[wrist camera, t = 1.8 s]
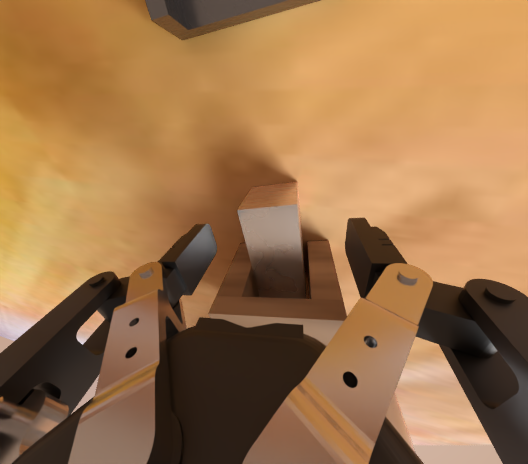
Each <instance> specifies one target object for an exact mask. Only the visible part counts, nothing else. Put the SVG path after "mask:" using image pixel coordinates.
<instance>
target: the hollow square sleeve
mask: <svg viewBox="0 0 528 464" xmlns="http://www.w3.org/2000/svg"><path fill="white" fill-rule="evenodd" d="M307 242H308V273H309V299H294V298H262V297H260V294H259V291H258V287H257V283H256V279H255V276H254V272H253V268H252V264H251V261H250V257H249V253H248V250H247V246H246V243H240V246H239V248H238V250H237V252H236V254H235V257H234V259H233V261H232V263H231V265H230V267H229V270H228V272H227V274H226V276H225V278H224V281H223V283H222V285H221V287H220V289H219V291H218V294H217V296H216V298H215V300H214V302H213V304H212V307H211V309H210V311H209V313H208V314H209V316H210V318H214V319H224V320H227V321H229V322H232V323H235V324H237V325H240V326H243V327H247V328H249V327H255V326H261V325H266V324H272V323H285V324H299V325H303V331H304V334H306V335H309V336H311V337H313V338H315V339H317V340H319V341H320V342H322V343H323V344H324V345H326V346H327V345H328V344H329V342H330V341H331V339H332V338H333V336H334V335H335V334H336V332H337V331H338V329H339V328H340V326H341V325H342V323H343V322H344V321H345V319H346V318H347V315H346V311H345V307H344V302H343V298H342V294H341V290H340V286H339V282H338V278H337V273H336V269H335V265H334V261H333V257H332V253H331V249H330V244H329V241H307Z"/></svg>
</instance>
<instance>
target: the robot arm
mask: <svg viewBox="0 0 528 464" xmlns="http://www.w3.org/2000/svg"><path fill="white" fill-rule="evenodd" d="M345 250H346V255H347V258H348V261H349V264H350V267H351V270H352V273H353V276H354V279H355V282H356V285H357V288H358V291H359V294H360V297H361V298H360V299H359V300H358V302H357V303H356V305H355V306H354V308H353V309H352V310H351V312H350V313H349V315H348V316H347V318H346V319H345V321H344V322H343V323H342V325H341V326H340V328H339V329H338V331H337V332H336V334H335V335H334V336H333V338H332V339H331V341H330V342H329V344H328V345H327V346H326V345H324V344H323V343H322V342H320V341H319V340H317V339H315V338H313V337H311V336H309V335H306V334H304V331H303V325H299V324H285V323H272V324H266V325H261V326H255V327H249V328H247V327H243V326H240V325H237V324H235V323H232V322H229V321H227V320H224V319H214V318H199V320H198V322H197V324H196V326H194V327H191V328H188V329H187V328H186V323H185V317H184V311H183V306H182V301H181V299H180V297H181V296H182V295H192V294H193V292H194V290H195V289H196V287H197V285H198V283H199V282H200V280H201V278H202V277H203V275H204V273H205V272H206V270H207V268H208V266H209V265H210V263H211V261H212V260H213V258H214V256H215V254H216V252H217V245H216V241H215V238H214V235H213V232H212V229H211V226H210V225H209V224H196V225H195V226H194V227H193V228H192V229H191V230H190V231H189V232H188V233H187V234H185V235H183V236H182V237H181V238H180V239H179V240H178V241H177V242H176V243H175V244H174V245H173V246H172V248H170V249H169V250H168V251H167V253H166V254H165V255H164V256H163V257H162V258H161V259H160V260H159V261H158V262H151V263H147V264H145V265H143V266H141V267H139V268H138V269H136V270H135V271H134V272H133V273H132V274H131V276H130V277H125V278H121V279H118V277H117V276H116V275H115V273H114V272H110V271H109V272H104V273H101V274H98V275H96V276H94V277H92V278H90V279H89V280H87V281H86V282H85V283H84V284H82V285H81V286H80V287H79V288H78V289H76V290H75V291H74V292H73V293H72V294H71V295H69V296H68V297H67V298H66V299H65V300H63V301H62V302H61V303H60V304H59V305H57V306H56V307H55V308H54V309H53V310H51V311H50V312H49V313H48V314H47V315H45V316H44V317H43V318H42V319H41V320H40V321H38V322H37V323H36V324H35V325H34V326H32V327H31V328H30V329H29V330H28V331H26V332H25V333H24V334H23V335H22V336H20V337H19V338H18V339H17V340H16V341H14V342H13V343H12V344H11V345H10V346H8V347H7V348H6V349H5V350H4V351H3V352H1V353H0V464H423V462H422V461H421V460H420V458H419V457H418V456H417V455H416V453H415V450H414V447H413V444H412V441H411V438H410V435H409V432H408V430H407V427H406V424H405V421H404V418H403V415H402V412H401V409H400V406H399V404H398V401H397V398H396V395H395V389H396V387H397V384H398V381H399V379H400V376H401V373H402V371H403V368H404V365H405V363H406V360H407V357H408V355H409V352H410V349H411V346H412V344H413V341H414V338H415V336H416V337H419V338H422V339H425V340H428V341H431V342H434V343H437V344H439V346H440V347H441V349H442V351H443V353H444V355H445V357H446V359H447V360H448V362H449V364H450V366H451V368H452V370H453V372H454V373H455V375H456V377H457V379H458V381H459V383H460V385H461V387H462V388H463V390H464V392H465V394H466V396H467V398H468V400H469V401H470V403H471V405H472V407H473V409H474V411H475V413H476V414H477V416H478V418H479V420H480V422H481V424H482V426H483V427H484V429H485V431H486V433H487V435H488V437H489V439H490V441H491V442H492V444H493V446H494V448H495V450H496V452H497V454H498V455H499V457H500V459H501V461H502V463H503V464H528V297H527V296H526V295H524V294H523V293H521V292H520V291H518V290H516V289H514V288H512V287H510V286H507V285H505V284H502V283H499V282H496V281H492V280H487V279H472V280H470V281H468V282H467V283H466V285H465V286H464V288H461V287H456V286H451V285H447V284H442V283H438V282H434V281H432V278H431V277H430V276H429V275H428V274H427V273H426V272H425V271H423V270H421V269H420V268H418V267H415V266H412V265H409V264H407V262H406V261H405V260H404V258H403V257H402V255H401V254H400V253H399V251H398V250H397V248H396V247H395V246H394V245H393V243H392V241H391V240H389V237H388V236H387V234H386V233H385V232H384V231H382V230H381V229H379V228H378V227H370V225H369V223H368V222H367V220H366V219H365V218H349V219H348V223H347V232H346V241H345ZM96 310H97V311H98V312H99V313H100V314H101V315H102V316H103V317H104V318H105V320H104V321H103V323H102V324H101V325H100V326H99V327H98V328H97V329H96V331H95V332H94V333H93V334H92V335H91V336H90V337H89V339H88V340H87V341H86V342H85V343H84V344H83V345H82V344H81V343H80V342H78V341H77V338H76V334H77V331H78V330H79V328H80V327H81V326H82V325H83V324H84V323H85V322H86V321H87V320H88V319H89V318H90V317H91V316H92V314H93V313H94V312H95V311H96ZM98 375H99V379H98V384H97V389H96V393H95V396H94V397H93V398H92V399H90V400H89V401H88V402H87V403H85V404H84V405H83V406H81V407H80V408H79V409H77V410H76V411H75V412H74V413H72V412H73V410H74V409H75V407H76V406H77V405H78V403H79V402H80V400H81V399H82V397H83V396H84V395H85V394H86V392H87V391H88V389H89V388H90V387H91V385H92V384H93V382H94V381H95V379H96V378H97V377H98ZM71 413H72V414H71ZM70 414H71V415H70Z"/></svg>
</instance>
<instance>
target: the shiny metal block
mask: <svg viewBox="0 0 528 464" xmlns="http://www.w3.org/2000/svg"><path fill="white" fill-rule="evenodd" d="M237 212H238V216H239V220H240V223H241V227H242V231H243V235H244V238H245V242H246V246H247V250H248V253H249V257H250V261H251V264H252V268H253V272H254V276H255V279H256V283H257V287H258V291H259V294H260V297H262V298H294V299H306V277H305V265H304V253H303V241H302V229H301V217H300V205H299V193H298V182H290V183H282V184H274V185H266V186H258V187H252V188H251V189H250V191H249V193H248V194H247V196H246V197H245V199H244V200H243V202H242V203H241V205H240V206H239V208H238V209H237Z"/></svg>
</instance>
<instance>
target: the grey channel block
mask: <svg viewBox="0 0 528 464" xmlns="http://www.w3.org/2000/svg"><path fill="white" fill-rule="evenodd" d="M145 1H146V4H147V8H148V11H149V14H150V17H151V20H152V21H153V22H155V23H156V24H158V25H159V26H161V27H163V28H164V29H166V30H167V31H169V32H170V33H172V34H173V35H175V36H176V37H178V38H179V39H181V40H185V39H189V38H192V37H196V36H199V35H203V34H206V33H209V32H213V31H216V30H220V29H223V28H227V27H230V26H234V25H237V24H241V23H244V22H247V21H251V20H254V19H258V18H261V17H265V16H268V15H272V14H275V13H279V12H282V11H285V10H289V9H292V8H296V7H299V6H303V5H306V4H310V3H313V2H317V1H320V0H145Z"/></svg>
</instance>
